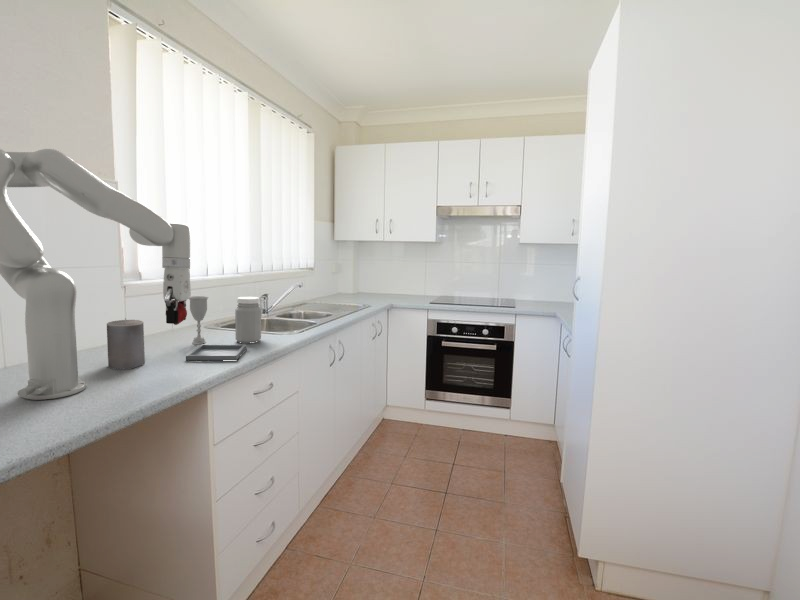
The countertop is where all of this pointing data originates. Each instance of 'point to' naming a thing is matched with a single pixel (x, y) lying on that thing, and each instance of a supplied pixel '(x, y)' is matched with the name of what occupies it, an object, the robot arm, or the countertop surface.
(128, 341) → the pillar candle
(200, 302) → the chalice
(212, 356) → the tray
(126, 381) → the countertop surface
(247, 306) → the jar
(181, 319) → the onion
